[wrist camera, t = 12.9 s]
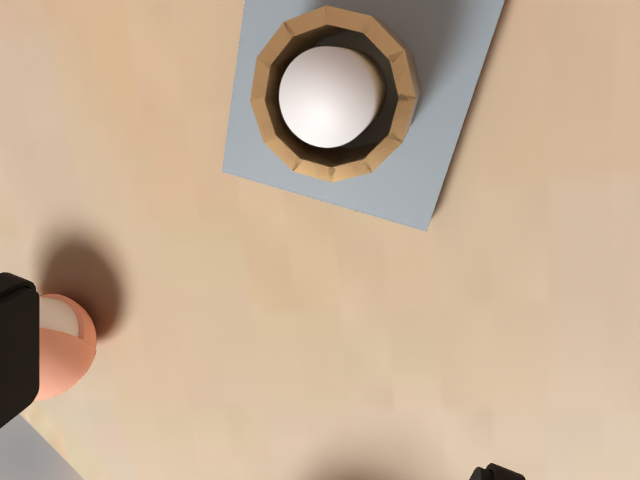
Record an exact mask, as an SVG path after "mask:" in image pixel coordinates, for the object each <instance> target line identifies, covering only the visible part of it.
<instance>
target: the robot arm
mask: <svg viewBox="0 0 640 480" xmlns="http://www.w3.org/2000/svg"><path fill="white" fill-rule="evenodd" d="M39 387H40V298H39V294H38V292H36V287H35V285H34V283H32V282H31V281H28V280H26V279H23V278H21V277H18V276H16V275H13V274H11V273H5V272H3V273H0V428H1V427H3V426H4V425H5V424H6V423H8V422H9V421H10V420H11V419H13V418H14V417H15V416H17V415H18V414H19V413H20V412H22V411H23V410H24V409H25V408H27V407H28V406H29V405H30V404H31V403H32V402H33V401H34V399H35V398H36V396H37V394H38V392H39ZM469 480H525V477H524V476H523V475H521V474H519V473H516V472H514V471H511V470H508V469H506V468H503V467H501V466H498V465H496V464H493V463H490V464H489V465H488V466H487V467H486V469H483V468H481V467H477V468H476V469H475V470H474V472H473V474H472V476H471V477H470V479H469Z"/></svg>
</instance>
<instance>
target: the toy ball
mask: <svg viewBox="0 0 640 480" xmlns="http://www.w3.org/2000/svg"><path fill="white" fill-rule="evenodd" d="M39 298H40V387H39V392H38V394H37V396H36V398H35V399H34V401H38V400H43V399H47V398H51V397H54V396H56V395H58V394H60V393H62V392H64V391H66V390H68V389H69V388H71V387H72V386H73V385H75V384H76V383H77V382H78V381H79V380H80V379H81V378H82V377H83V376H84V374H85V373H86V372H87V370H88V369H89V367H90V366H91V364H92V362H93V359H94V357H95V354H96V331H95V327H94V324H93V322H92V320H91V318H90V316H89V315H88V313H87V312H86V311H85V310H84V309H83V308H82V307H81V306H80V305H79V304H78V303H76V302H75V301H73V300H71V299H69V298H67V297H65V296H63V295H60V294H46V295H42V296H39Z"/></svg>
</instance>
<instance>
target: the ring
mask: <svg viewBox="0 0 640 480" xmlns="http://www.w3.org/2000/svg"><path fill="white" fill-rule="evenodd" d="M346 30H352V31H356V32H361V33H364V34H365V35H366V36H367V37H368V38H369V39H370V40H371V42H372V43H373V44H374V45H375V46H376V47H377V48H378V49H379V50H380V51H381V52H382V53H383V54H384V55H385V56H386V57H387V58H388V59H389V60H390V64H391V68H392V72H393V76H394V80H395V84H396V88H397V92H398V96H399V100H398V103H397V107H396V110H395V114H394V118H393V121H392V125H391V129H390V130H389V131H388V132H387V133H386V134H385V135H384V136H383V137H382V138H381V139H380V140H379V141H377V142H373V143H370V144H366V145H362V146H359V147H355V148H351V149H350V148H346V147H343V146H337V147H331V148H324V147H317V146H314V145H311V144H308V143H306V142H304V141H303V140H301V139H300V138H299V137H297V136H296V135H295V134H294V133H293V132H292V131H291V129H290V128H289V127H288V125H287V124H286V122H285V120H284V118H283V115H282V112H281V108H280V103H279V90H280V84H281V80H282V78H283V75H284V73H285V71H286V69H287V68H288V66H289V65H290V63H291V62H292V61H293V60H294V59H295V58H296V57H298V56H299V55H300V54H302V53H303V52H305V51H307V50H309V49H312V48H314V47H315V45H316V44H317V43H318V42H319V41H320V40H321V39H324V38H327V37H329V36H332V35H335V34H338V33H341V32H343V31H346ZM420 92H421V87H420V82H419V78H418V74H417V69H416V65H415V60H414V56H413V52H412V50H411V49H410V48H409V47H408V46H407V45H406V44H405V43H404V42H403V41H402V40H401V39H400V38H399V37H398V36H397V35H396V34H395V33H394V32H393V30H392V29H391V28H390V27H389V26H388V25H387V24H386V23H384V22H383V21H381V20H379V19H377V18H375V17H373V16H370V15H366V14H361V13H357V12H353V11H348V10H344V9H340V8H336V7H331V6H327V5H326V6H323V7H321V8H318V9H316V10H313V11H310V12H308V13H305V14H302V15H300V16H297V17H295V18H292V19H289V20H287V21H284V22H283V23H282V25H281V26H280V27H279V29H278V30H277V31H276V33H275V34H274V35H273V37H272V38H271V39H270V41H269V42H268V43H267V44H266V46H265V47H264V48H263V50H262V51H261V52H260V54H259V55H258V56H257V58H256V65H255V72H254V78H253V85H252V92H251V98H250V103H251V106H252V109H253V112H254V115H255V118H256V121H257V124H258V127H259V130H260V133H261V136H262V139H263V142H264V143H265V144H266V145H267V146H268V147H269V148H270V149H271V150H272V151H273V152H274V153H275V154H276V155H277V156H278V157H279V158H280V159H281V160H282V161H283V162H284V163H285V164H286V165H287V166H288V167H289V168H290V169H291V170H292V171H293V172H297V173H300V174H304V175H307V176H311V177H314V178H318V179H321V180H325V181H328V182H336V181H340V180H344V179H348V178H352V177H356V176H360V175H364V174H368V173H372V172H373V171H374V170H375V169H376V168H377V167H378V166H379V165H380V164H381V163H382V162H383V161H384V160H385V159H386V158H387V157H388V156H389V155H390V154H391V153H392V152H393V151H394V150H396V149H397V148H398V147H399V146H400V145H401V144H402V143H403V141H404V139H405V137H406V135H407V133H408V131H409V129H410V126H411V123H412V120H413V116H414V113H415V109H416V106H417V103H418V99H419V96H420Z"/></svg>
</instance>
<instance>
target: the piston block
mask: <svg viewBox="0 0 640 480" xmlns="http://www.w3.org/2000/svg"><path fill="white" fill-rule="evenodd" d="M504 1H505V0H245V5H244V12H243V20H242V27H241V34H240V42H239V49H238V57H237V64H236V71H235V79H234V86H233V94H232V101H231V108H230V116H229V123H228V131H227V138H226V145H225V153H224V160H223V168H222V172H224V173H228V174H231V175H235V176H238V177H241V178H245V179H248V180H252V181H255V182H258V183H262V184H265V185H269V186H272V187H276V188H279V189H282V190H286V191H289V192H293V193H296V194H300V195H303V196H306V197H310V198H313V199H317V200H320V201H324V202H327V203H330V204H334V205H337V206H341V207H344V208H348V209H351V210H354V211H358V212H361V213H365V214H368V215H371V216H375V217H378V218H382V219H385V220H389V221H392V222H395V223H399V224H402V225H406V226H409V227H413V228H416V229H419V230H423V231H426V232H427V229H428V226H429V223H430V220H431V217H432V214H433V211H434V208H435V205H436V202H437V199H438V196H439V193H440V191H441V188H442V185H443V182H444V179H445V176H446V173H447V170H448V167H449V164H450V161H451V158H452V155H453V152H454V149H455V146H456V143H457V140H458V137H459V134H460V131H461V128H462V125H463V122H464V119H465V116H466V114H467V111H468V108H469V105H470V102H471V99H472V96H473V93H474V90H475V87H476V84H477V81H478V78H479V75H480V72H481V69H482V66H483V63H484V60H485V57H486V54H487V51H488V48H489V45H490V42H491V39H492V37H493V34H494V31H495V28H496V25H497V22H498V19H499V16H500V13H501V10H502V7H503V4H504ZM326 5H327V6H331V7H336V8H340V9H344V10H348V11H353V12H357V13H361V14H366V15H370V16H373V17H375V18H377V19H379V20H381V21H383V22H384V23H386V24H387V25H388V26H389V27H390V28H391V29H392V30H393V32H394V33H395V34H396V35H397V36H398V37H399V38H400V39H401V40H402V41H403V42H404V43H405V44H406V45H407V46H408V47H409V48H410V49H411V50H412V52H413V56H414V60H415V65H416V69H417V74H418V78H419V82H420V87H421V92H420V96H419V99H418V103H417V106H416V109H415V113H414V116H413V120H412V123H411V126H410V129H409V131H408V133H407V135H406V137H405V139H404V141H403V143H402V144H401V145H400V146H399V147H398V148H397V149H396V150H394V151H393V152H392V153H391V154H390V155H389V156H388V157H387V158H386V159H385V160H384V161H383V162H382V163H381V164H380V165H379V166H378V167H377V168H376V169H375V170H374V171H373V172H372V173H368V174H364V175H360V176H356V177H352V178H348V179H344V180H340V181H336V182H328V181H325V180H321V179H318V178H314V177H311V176H307V175H304V174H300V173H297V172H293V171H292V170H291V169H290V168H289V167H288V166H287V165H286V164H285V163H284V162H283V161H282V160H281V159H280V158H279V157H278V156H277V155H276V154H275V153H274V152H273V151H272V150H271V149H270V148H269V147H268V146H267V145H266V144H265V143H264V142H263V139H262V136H261V133H260V130H259V127H258V124H257V121H256V118H255V115H254V112H253V109H252V106H251V103H250V98H251V92H252V85H253V78H254V72H255V65H256V58H257V56H258V55H259V54H260V52H261V51H262V50H263V48H264V47H265V46H266V44H267V43H268V42H269V41H270V39H271V38H272V37H273V35H274V34H275V33H276V31H277V30H278V29H279V27H280V26H281V25H282V23H283V22H284V21H287V20H289V19H292V18H295V17H297V16H300V15H302V14H305V13H308V12H310V11H313V10H316V9H318V8H321V7H323V6H326ZM398 100H399V96H398V92H397V88H396V84H395V80H394V76H393V72H392V68H391V64H390V60H389V59H388V58H387V57H386V56H385V55H384V54H383V53H382V52H381V51H380V50H379V49H378V48H377V47H376V46H375V45H374V44H373V43H372V42H371V40H370V39H369V38H368V37H367V36H366V35H365V34H364V33H361V32H356V31H352V30H346V31H343V32H341V33H338V34H335V35H332V36H329V37H327V38H324V39H321V40H320V41H319V42H318V43H317V44H316V45H315V47H314V48H312V49H309V50H307V51H305V52H303V53H302V54H300V55H299V56H298V57H296V58H295V59H294V60H293V61H292V62H291V63H290V65H289V66H288V68H287V69H286V71H285V73H284V75H283V78H282V80H281V84H280V90H279V103H280V108H281V112H282V115H283V118H284V120H285V122H286V124H287V125H288V127H289V128H290V129H291V131H292V132H293V133H294V134H295V135H296V136H297V137H299V138H300V139H301V140H303V141H304V142H306V143H308V144H311V145H314V146H317V147H324V148H331V147H337V146H343V147H346V148H350V149H351V148H355V147H359V146H362V145H366V144H370V143H373V142H377V141H379V140H380V139H381V138H382V137H383V136H384V135H385V134H386V133H387V132H388V131H389V130H390V129H391V125H392V121H393V118H394V114H395V110H396V107H397V103H398Z"/></svg>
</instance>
